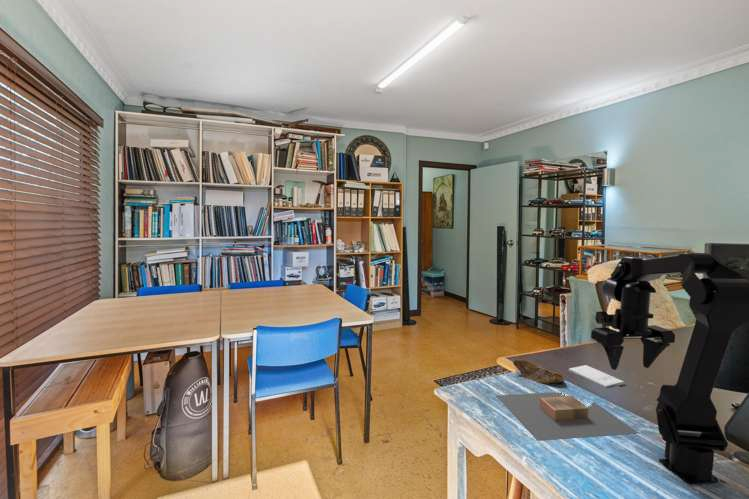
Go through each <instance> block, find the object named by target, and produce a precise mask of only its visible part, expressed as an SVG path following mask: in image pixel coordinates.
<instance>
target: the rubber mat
mask: <svg viewBox="0 0 749 499" xmlns="http://www.w3.org/2000/svg"><path fill="white" fill-rule="evenodd" d="M556 392H558V393H556ZM559 392H561V393H559ZM562 392H563V391H551V392H535V393H515V394H514V393H513V394H499V395H498V394H497V395H494V396H495V397H496V398H497V399H498V400H499V401H500V403H502V404H503V405H504V407H506V409H507V410H508V411H509V412H510V413H511V415H513V416H514V417H515V419H517V420H518V422H519V423H520V424H522V426H523V427H524V428H525V429H526V430H527V432H529V433H530V434H531V435H532V437H533V438H534V439H535V440H536V441H538V442H540V441H551V440H563V439H577V438H578V439H579V438H591V437H593V438H594V437H606V436H620V435H622V436H623V435H633V434H634V435H635V434H639V431H637V430H635V429H634V428H633V427H631V426H629V424H627V423H625V422H624V421H623V420H621V419H620V418H618V417H617V416H616V415H614V414H613V413H611V412H610V411H608V410H607V409H605V408H604V407H603V406H601V405H600V404H598V403H597V402H595V401H594V402H593V403H592V404H591V405H592V406H591V405H590V407H589V406H588V408H589V410H588V418H578V419H563V420H553V419H552V418H551V417H550V416H549V415H548V414H547V413H546V412H545V411H543V410H542V409H541V408H540V398H546V397H563V396H565V394H564V393H563V394H564V395H562ZM561 395H562V396H561ZM596 403H597V404H596Z"/></svg>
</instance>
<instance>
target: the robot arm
mask: <svg viewBox="0 0 749 499" xmlns="http://www.w3.org/2000/svg"><path fill="white" fill-rule="evenodd" d="M697 274H700V275H701V274H702V275H703V274H704V275H706V276H707V277H702V278H699V277H698V275H697ZM669 275H682V278H681V287H682V289H683V290H684V291H685V292H686V294H687V295H688V296H689V304H688V306H689V308H690V310H691V312H692V314H693V316H694V318H695V323H694V326H693V329H692V332H691V336H690V339H689V341H688V342H689V343H688V346H687V350H686V353H685V356H684V359H683V362H682V365H681V369H680V371H679V375H678V378H677V381H676V383H675V384H674V385H672V384H663V385H661V387H660V391H659V395H658V397H657V398H656V402H657V405H656V407H655V408H656V409H655V412H656V420H657V426H658V427H657V428H658V432H659V435H661V436H662V437H661V439H662V440H663V442H665V446H664V447H665V448H664V458H660V459H658V462H659V463H660V464H661V465H662V466H663V467H665V468H666V469H667V470H669V471H670V472H671V471H672V472H671V473H673V474H674V475H675V476H677V477H679V478H680V479H681V480H682V481H684V482H685V483H687V484H688V485H691V486H692V485H693V486H695V485H704V484H714V483H719V481H720V479H719V478H718V477H717V476H715V475H714V474H713V470H714V460H715V459H714V458H715V457H714V456H715V451H720V452H725V451H726V449H727V448H728V445H729V443H728V440H727V438H726V437H725V435H724V433H723V430H722V428H721V427H720V424H719V422H718V421H717V415H718V410H717V408H716V405H715V404H714V401H713V400H712V398H711V397H712V396H711V395H712V393H713V390H714V387H715V384H716V383H717V379H718V375H719V372H720V370H721V367H722V364H723V360H724V358H725V356H726V352H727V350H728V347H729V344H730V341H731V338H732V336H733V333H734V331H736V330H737V329H738V328H739V327H741V326H742V325H744V324H746V323H747V322H748V321H749V279H748V278H747V277H746V276H745V275H744V274H743V273H742V272H740V271H738V270H736V269H734V268H732V267H731V266H728V265H727V264H724V263H723V262H721V261H720V260H719V259H718V258H717V257H716V256H715V255H714V254H710V253H708V252H683V253H679V254H675V255H667V256H659V257H652V256H651V257H650V256H647V257H646V256H623V257H621V258H620V261H618V263H617V264H616V266H615V269H614V270H613V271H612V272H611V274H610V278H608V279H607V280H606V281H604V282H603V285H602V288H601V289H602V292H603V294H604V296H606V297H608V298H610V299H612V300H614V301H617V302H618V303H620V308H616V309H615V311H614V313H613V314H608V312H607V311H604V310H602V311H601V310H600V311H596V312H595V318H594V319H595V323H597V324H598V325H601V327H594V328H592V329H591V332H590V333H591V334H590V339H592V340H595V342H596V343H599V344H601V346H602V347H603V349H604V352H605V353H606V356H607V359H608V362H609V365H610V368H611V370H613V371H616V370H617V369H618V367H619V364H620V360H621V356H622V355H623V351H624V348H625V347H624V346H623V345H622V344H623V343H624V341H625V340H634V339H635V340H637V339H640V341H641V344H642V346H643V347H642V348H643V349H642V363H643V367H644V368H645V369H649V368H650V367H651V365H652V364H653V363H654V362H655V361H656V359H657V358H658V357H659V356H660V355H661V354H662V353H663V351H664V350H665V349H666V348H668V347H670V346H671V344H674V343H676V342H675V341H676V335H675V333H674V331H673V330H670V329H668V328H664V327H661V326H659V325H655V324H654V325H653V324H652V325H649V319H654V313H651V312H650V305H651V304H650V303H651V294H655V293H657V290H656V288H655V286H654V287H653V286H652V285H651V283H650V282H651V281H655V280H659V279H661V278H662V277H663V276H669ZM609 327H611V328H609ZM617 330H618V331H617Z"/></svg>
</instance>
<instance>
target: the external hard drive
mask: <svg viewBox="0 0 749 499" xmlns="http://www.w3.org/2000/svg"><path fill="white" fill-rule="evenodd" d="M568 372H569V373H571V374H574V375H576V376H577V375H578V376H581V377H583V378H585V379H587V380H589V381H591V382H593V383H596V384H597V385H599V386H602V387H604V388H609V387H613V386H622V385H625V381H624V380H621V379H619V378H617V377H615V376H612V375H610V374H608V373H605V372H603V371H601V370H599V369H596V368H594V367H591V366H589V365H587V364H584V365H579V366H575V367H570V368H568Z"/></svg>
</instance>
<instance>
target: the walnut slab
mask: <svg viewBox="0 0 749 499" xmlns="http://www.w3.org/2000/svg"><path fill="white" fill-rule="evenodd" d="M540 408H541V409H542V410H543V411H545V412H546V413H547V414H548V415H549V416H550V417H551V418H552V419H553V420H563V419H578V418H588V410H589V408H588V407H586V406H585V405H584V404H582V403H581V402H580V401H578V400H577V399H575V398H574V397H573V396H563V397H546V398H540Z"/></svg>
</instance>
